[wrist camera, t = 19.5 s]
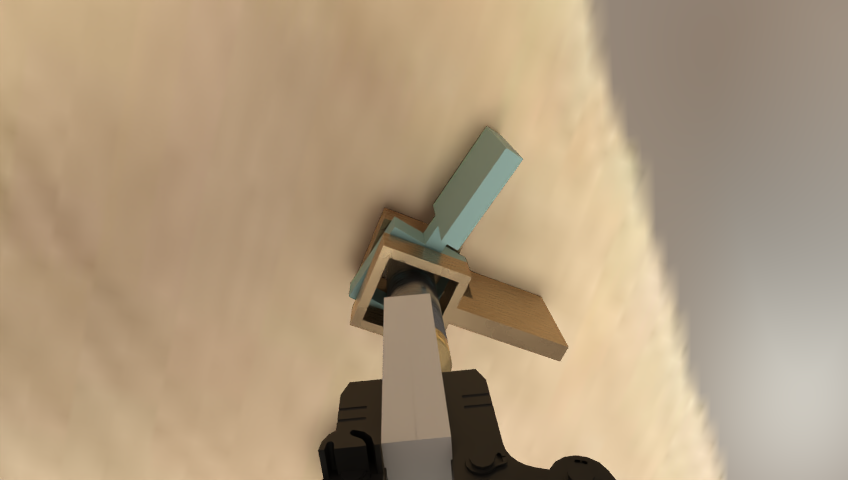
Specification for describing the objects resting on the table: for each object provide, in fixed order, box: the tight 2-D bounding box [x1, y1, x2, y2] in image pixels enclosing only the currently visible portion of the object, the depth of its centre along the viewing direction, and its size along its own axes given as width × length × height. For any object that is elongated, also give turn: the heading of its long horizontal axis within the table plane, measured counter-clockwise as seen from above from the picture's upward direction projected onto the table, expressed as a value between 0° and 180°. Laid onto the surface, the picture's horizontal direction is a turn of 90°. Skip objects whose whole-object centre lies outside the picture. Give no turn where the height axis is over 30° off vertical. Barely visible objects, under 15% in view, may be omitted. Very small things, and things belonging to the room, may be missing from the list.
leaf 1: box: [349, 126, 523, 310], centre depth 36 cm, size 14×6×7 cm, turn 147°
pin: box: [386, 258, 452, 372], centre depth 34 cm, size 3×3×14 cm
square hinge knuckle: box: [350, 208, 568, 361], centre depth 38 cm, size 14×6×7 cm, turn 67°
